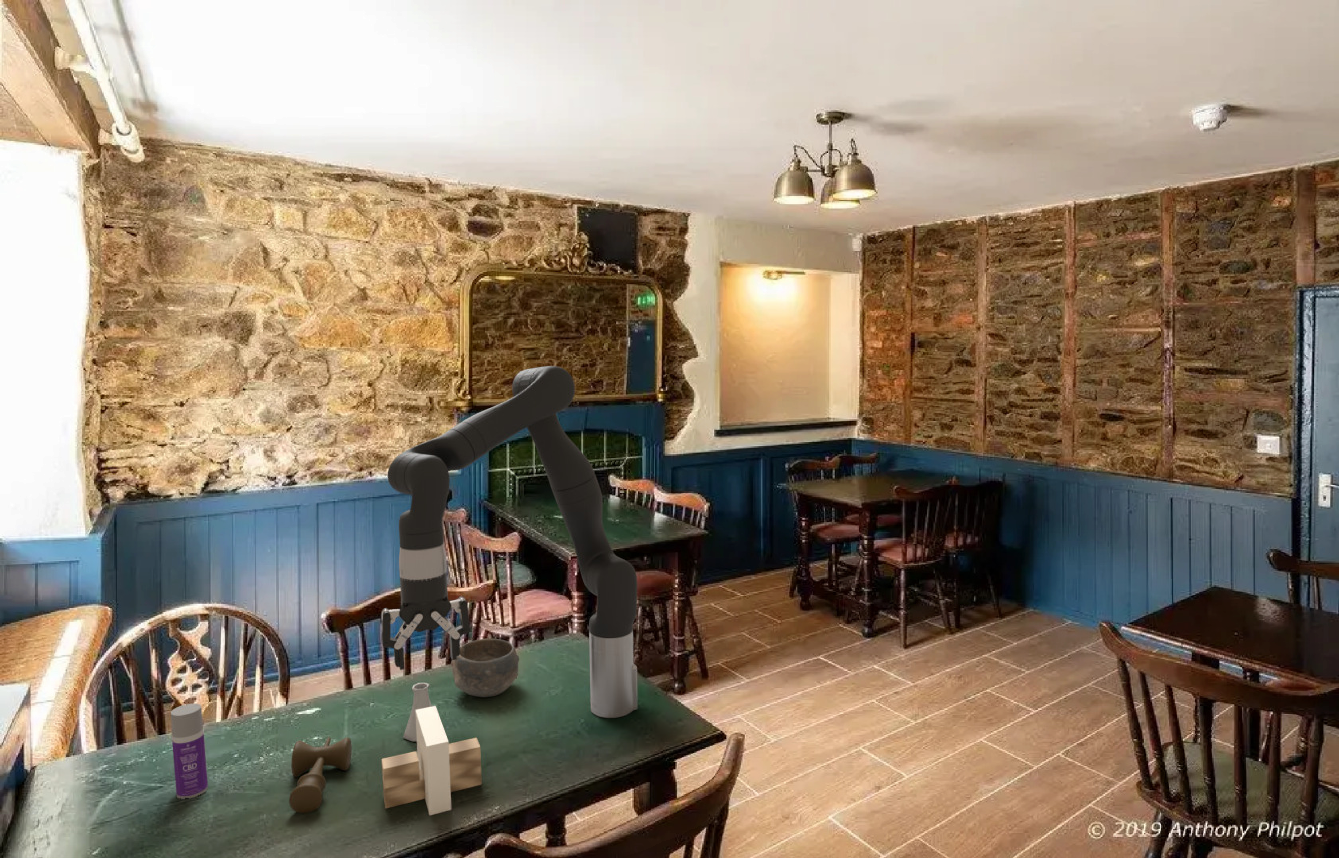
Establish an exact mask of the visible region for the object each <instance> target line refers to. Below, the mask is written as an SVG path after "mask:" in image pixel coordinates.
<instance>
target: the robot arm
mask: <svg viewBox="0 0 1339 858" xmlns="http://www.w3.org/2000/svg"><path fill="white" fill-rule="evenodd" d="M511 387H512V390H511V391H512V397H510V398H509V399H507V400H505V401H503V402H501V403H498V404H496V405H495V406H492V407H490V408H487V409H485V410H481V411H480V412H477V413H476V414H474V415H472V416H470V417H468V418H466V419H464V420H463V421H461V422H459V423H457V424H456V425H454V427H452V428H450V429H448V430H447V431H446V432H444V433H443V434H441V435H439V436H438V437H435V438H432V439H428V440H427V441H424V442H422V443H420V444H419V443H418V445H414V446H413V447H410V448H408V449H406V450H405V451H403V452H402V453H400V454H398V455H397V456H396V457H395V458H394V459H393V460H392V461H391V464H390V465H389V467H388V470H387V481H388V483H389V486H391V488H392V489H393V490H394V491H396V492H398V493H401V494H404V495H410V496H411V501H410V502H411V503H410V509H408V510H405V511H404V512H402V513H401V515H399V519H398V535H399V558H398V566H399V567H398V569H399V571H398V572H399V583H400V584H399V585H400V586H399V587H400V606H399V608H397V609H396V608H395V609H389V608H387V607H385V608H383V609H382V610H381V616H380V617H381V623H380V625H381V630H380V631H381V633H380V635H381V637H380V638H381V639H380V640H381V644H382V645H381V646H382V648H385V649H386V648H387V649H388V648H392V649H393V657H394V661H393V662H394V665H395V666H396V668H399V671H402V670H405V656H404V655H405V652H404V644H405V643H406V641H407V640H408V639H409V638H410V637H411V635H412V634H413V632H417V633H421V632H424V631H426V630H427V631H434V630H437V629H438V628H439V627H440V628H442V629H443V630H444V631H445V632H446V633H448V634H449V649H450V651H449V652H450V658H451V661H452V660H456V659H457V656H459V654H460V647H461V643H460V642H461V640H460V639H461V638H462V636H463V635H467V634H469V633H470V632H471V624H470V613H469V606H468V602H467V600H466V598H465V597H464V596H459V597H458V598H457V599H454V600H449V595H448V594H449V593H448V577H447V568H448V564H447V556H446V549H445V543H444V542H445V541H444V526H443V518H444V514H445V510H446V507H447V501H448V496H449V491H450V483H451V482H450V480H451V479H450V474H449V472H452V471H459V470H463V469H465V468H467V467H469V466H470V465H472V464H473V463H474V462H476V461H477V460H479V459H481V457H482V458H483V456H484V455H486V454H487V453H489V452H491V451H492V450H493V449H495V448H496V447H497V446H498V445H500V444H502V443H503V442H505V441H507V440H508V439H510V438H512V437H513V436H514V435H516V434H518V433H519V432H521V431H522V430H525V429H527V431H528V433H529V435H530V437H531V438H532V441H533V444H534V446H535V448H536V451H537V453H538V456H539V458H540V461H541V463H542V466H543V468H544V471H545V473H546V476H547V479H548V481H549V485H550V488H551V491H552V494H553V496H554V498H555V501H556V504H557V506H558V509H559V511H560V514H561V516H562V519H563V522H564V524H565V527H566V529H567V531H568V534H569V536H570V538H571V540H572V541H571V542H572V543H573V546H574V547H573V548H574V549H575V550H574V551H575V554H576V557H577V562H578V566H579V571H580V574H581V579H582V580H583V583H584V586H585V587H586V589H587V590H588V591H589V592H590V593H591V594H593V595H594V596H596V597H597V598H596V601H597V602H596V613H594V614H593V615H592V616H590V618H589V621H588V622H589V624H588V628H589V629H588V630H589V631H588V634H589V635H588V636H589V639H588V640H589V683H590V684H589V685H590V686H589V687H590V688H589V689H590V691H589V692H590V693H589V694H590V711H591V713H593V714H594V715H595V716H596V717H600V718H603V719H604V718H606V719H611V718H612V719H615V718H620V717H624V716H627V715H629V714H631V713H632V712H634V711H635V710H638V667H637V665H636V664H635V663H634V631H633V630H634V621H635V619H636V616H637V608H638V606H637V605H638V577H637V572H636V569H635V567H634V566H633V565H632V564H631V562H629V561H627V560H625V559H623V558H621V557H619V556H617V555H616V554H615V553H614V550H613V549H612V547H611V544H610V542H609V540H608V538H607V535H606V533H605V529H604V523H603V510H604V509H603V506H604V505H603V495H602V491H601V487H600V485H599V482H598V481H599V480H598V479H597V476H596V473H595V470H594V468H593V466H592V464H591V463H590V460H589V458H587V457H586V455H584V453H583V452H582V451H581V450H580V449H579V448H578V447H577V445H576V444H575V443H574V442H573V441H572V440H571V439H570V438H569V436H568V435H567V434H566V433H565V431H564V429H563V428H562V425H561V424H560V420H559V418H558V416H557V413H560V412H562V411H564V410H566V409H567V408H568V407H569V406H571V403H572V402H573V400H574V397H575V393H576V387H575V381H574V379H573V376H572V375H571V373H569V372H568V370H567V369H564V368H563V367H560V366H555V365H548V366H547V365H546V366H540V367H533V368H527V369H524V370H521V371H519V372H518V373H517V374H516V375H515V377H514V379H513V381H512V386H511ZM452 609H454V610H455V612H456V613H457V614H458V615H459V624H460V625H459V626H457V627H455V625H454V624H453V623H451V621H450V620H449V619H448V618H447V616H448V615H449V613H450V611H451V610H452ZM397 617H399V618H400V619H401V620H402V621H403V623H402V624H401V626H400V627H399V630H398V632H397V633H396V635H395V636H394V637H392V636H391V625H392V624H394V623H395V621H396V618H397Z"/></svg>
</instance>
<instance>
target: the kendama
mask: <svg viewBox="0 0 1339 858" xmlns="http://www.w3.org/2000/svg"><path fill="white" fill-rule="evenodd" d="M330 743H331V737H330V736H329V737H327V739H326V740H325V742H324V745H322V746H312V745H310V744H308V743H307V742H304V741H303V740H296V743H295V744H294V745H293V749H292V753H291V766H290V767H291V774H292V775H293V777H294V778H296V777H299V776H300V777H299V779H298V780H297V782H296V787H295V788H293V790H292V791H291V792H290V794H289V800H288V802H289V807H290V808H291V809H292V810H293V811H294V812H296V813H298V814H307V813H312V812H314V811H316V810H317V809H319V808H320V806H321V804H322V802H323V798H324V797H323V792H324V790H325V788H326V784H327V781H326V778H325V777H324V775H323V771H324V767H325V766H332V767H335V768H337V769H339V770H342V771H347V770H349V768H350V765H351V761H352V753H353V748H352V747H353V745H352V740H351V738H350V737H344V738H343V739H341V740H339V741H338V742H335V743H333V744H330ZM307 771H309V772H308V773H305V772H307ZM304 773H305V774H304Z"/></svg>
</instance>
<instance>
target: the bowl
mask: <svg viewBox="0 0 1339 858" xmlns="http://www.w3.org/2000/svg"><path fill="white" fill-rule="evenodd" d="M519 662H520V657H519V655H518V654H517V651H516V648H515V646H514V645H513V643H512V642H509V641H507V640H504V639H497V638H481V639H476V640H472V641H469V642H467V643H464V644H463V645H460V654H459V656H457V659H456V660H452V659H451V661H450V665H451V671H452V676H453V677H452V678H453V681H454V685H455V687H456V688H458V689H459V690H460V691H462V692H463V693H466V694H468V695H470V696H473V697H480V698H491V697H496V696H498V695H500V694H502V693H504V692H505V691H506V690H507V689H508V688H509V687H510V686H512V684H513V683H514V682H515V681H516V679H518V676H519Z"/></svg>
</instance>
